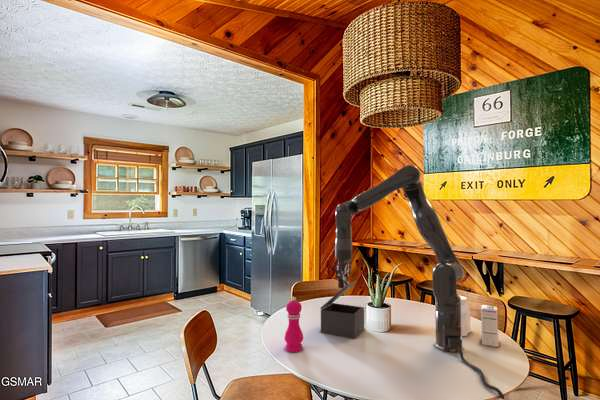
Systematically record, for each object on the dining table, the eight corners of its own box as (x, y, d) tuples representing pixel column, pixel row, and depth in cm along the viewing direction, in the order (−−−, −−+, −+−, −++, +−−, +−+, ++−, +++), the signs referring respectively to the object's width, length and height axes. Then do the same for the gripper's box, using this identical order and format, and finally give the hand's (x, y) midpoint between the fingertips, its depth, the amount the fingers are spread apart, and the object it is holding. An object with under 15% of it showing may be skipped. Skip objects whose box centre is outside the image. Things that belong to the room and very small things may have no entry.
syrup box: (498, 347, 135) (498, 309, 135) (481, 344, 138) (480, 307, 138) (498, 342, 140) (497, 306, 140) (481, 339, 143) (481, 304, 143)
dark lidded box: (364, 329, 155) (364, 307, 155) (354, 338, 144) (354, 314, 144) (332, 323, 163) (332, 302, 163) (320, 332, 152) (320, 309, 152)
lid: (357, 281, 157) (349, 272, 159) (347, 287, 146) (339, 277, 148) (332, 302, 163) (325, 293, 165) (321, 309, 152) (314, 299, 154)
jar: (449, 325, 160) (449, 292, 160) (472, 330, 154) (471, 296, 154) (441, 332, 151) (441, 297, 151) (465, 337, 145) (464, 301, 145)
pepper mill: (302, 345, 138) (302, 294, 138) (303, 352, 130) (303, 299, 131) (284, 345, 137) (284, 294, 138) (284, 353, 130) (284, 299, 130)
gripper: (345, 250, 146) (345, 291, 146) (357, 247, 158) (356, 284, 158) (329, 249, 149) (329, 289, 149) (341, 246, 162) (341, 282, 162)
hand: (343, 286), depth 154 cm, fingers closed on lid, 5 cm apart
